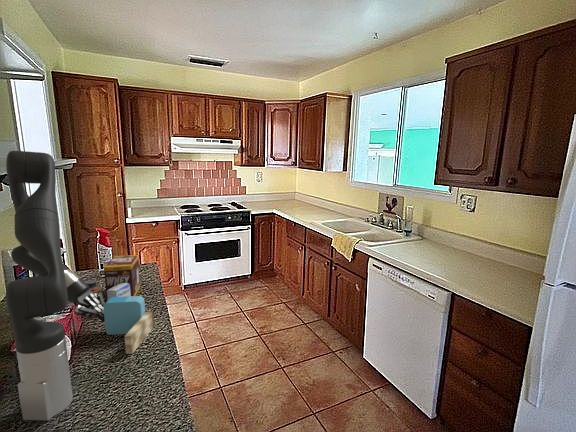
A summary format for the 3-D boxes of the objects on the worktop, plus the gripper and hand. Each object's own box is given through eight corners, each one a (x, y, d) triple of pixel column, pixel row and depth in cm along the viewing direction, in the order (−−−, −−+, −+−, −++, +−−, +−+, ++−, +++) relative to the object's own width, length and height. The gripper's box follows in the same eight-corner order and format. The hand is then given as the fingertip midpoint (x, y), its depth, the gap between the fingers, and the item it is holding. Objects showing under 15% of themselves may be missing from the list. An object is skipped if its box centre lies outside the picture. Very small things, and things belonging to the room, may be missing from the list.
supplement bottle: (89, 313, 123) (86, 285, 121) (80, 309, 126) (77, 282, 124) (104, 306, 128) (102, 280, 126) (95, 303, 131) (92, 277, 129)
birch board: (132, 353, 99) (131, 335, 97) (125, 353, 99) (124, 335, 97) (154, 326, 114) (153, 310, 113) (148, 326, 114) (147, 310, 113)
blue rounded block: (146, 326, 114) (144, 295, 112) (142, 333, 110) (140, 301, 107) (111, 328, 113) (108, 297, 110) (105, 335, 108) (102, 302, 106)
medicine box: (118, 311, 125) (116, 291, 123) (108, 310, 125) (106, 290, 124) (131, 302, 132) (130, 283, 130) (122, 301, 133) (120, 282, 131)
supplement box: (106, 302, 132) (103, 267, 129) (116, 287, 146) (113, 255, 144) (133, 300, 134) (130, 265, 131) (140, 286, 149) (138, 254, 146)
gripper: (63, 286, 102) (104, 323, 104) (88, 271, 115) (124, 304, 117) (48, 301, 103) (89, 337, 105) (75, 284, 115) (110, 316, 118)
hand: (107, 319), depth 111 cm, fingers closed
